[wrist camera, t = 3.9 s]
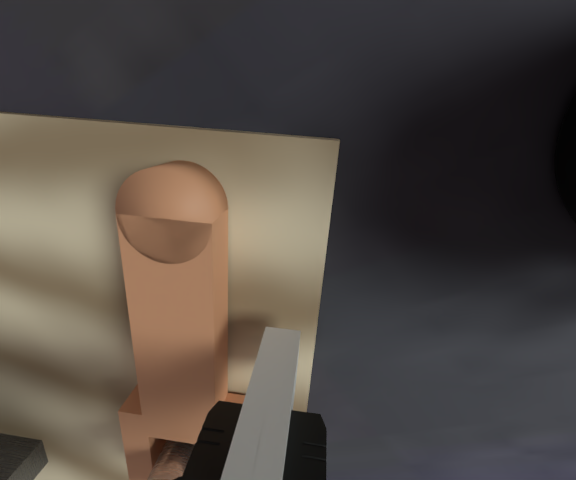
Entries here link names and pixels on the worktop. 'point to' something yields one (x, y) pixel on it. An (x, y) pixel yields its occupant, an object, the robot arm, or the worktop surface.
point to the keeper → (21, 457)
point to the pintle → (171, 461)
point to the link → (173, 305)
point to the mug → (567, 159)
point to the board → (109, 272)
